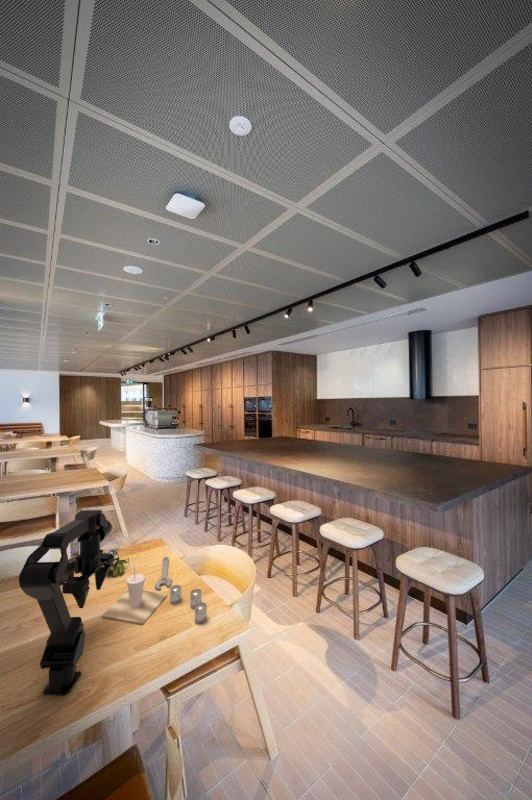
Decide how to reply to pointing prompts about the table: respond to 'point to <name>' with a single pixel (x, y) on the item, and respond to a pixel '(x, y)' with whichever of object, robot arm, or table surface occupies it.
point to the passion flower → (117, 562)
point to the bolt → (67, 577)
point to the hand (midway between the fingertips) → (90, 598)
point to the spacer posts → (191, 603)
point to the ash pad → (135, 615)
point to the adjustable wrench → (164, 576)
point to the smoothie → (135, 589)
